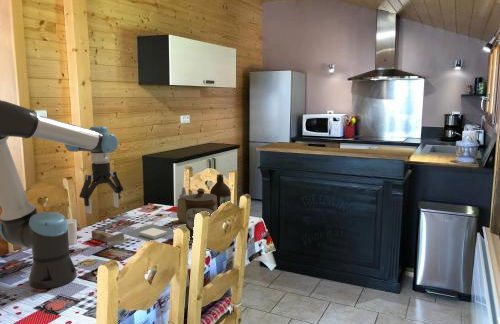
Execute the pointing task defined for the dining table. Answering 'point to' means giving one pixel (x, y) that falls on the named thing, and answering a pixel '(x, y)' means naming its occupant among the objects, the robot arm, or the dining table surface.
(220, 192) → the olive oil
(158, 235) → the tile
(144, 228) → the slate mat
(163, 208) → the dining table surface
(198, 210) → the wooden container
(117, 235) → the brown rectangular box
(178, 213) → the squeeze bottle
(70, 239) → the white cup
